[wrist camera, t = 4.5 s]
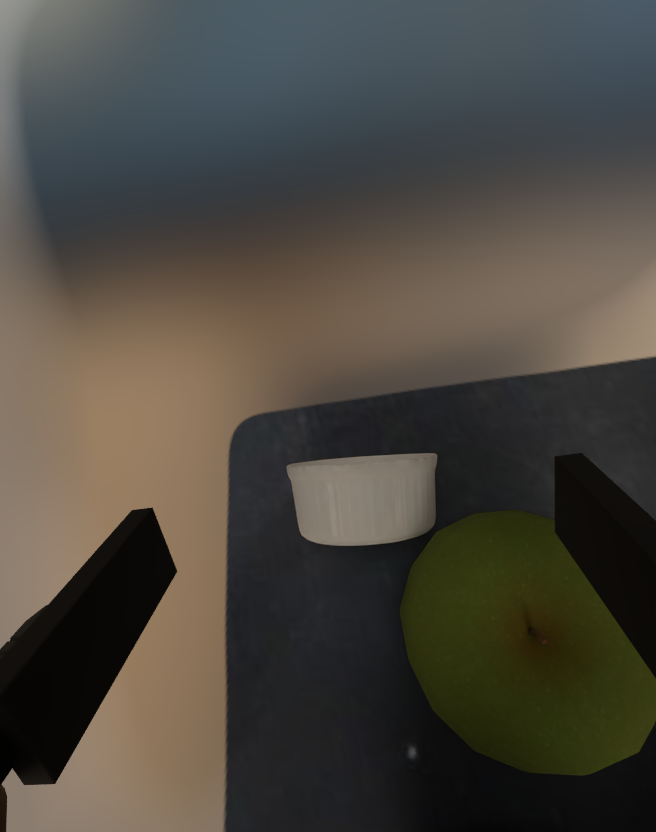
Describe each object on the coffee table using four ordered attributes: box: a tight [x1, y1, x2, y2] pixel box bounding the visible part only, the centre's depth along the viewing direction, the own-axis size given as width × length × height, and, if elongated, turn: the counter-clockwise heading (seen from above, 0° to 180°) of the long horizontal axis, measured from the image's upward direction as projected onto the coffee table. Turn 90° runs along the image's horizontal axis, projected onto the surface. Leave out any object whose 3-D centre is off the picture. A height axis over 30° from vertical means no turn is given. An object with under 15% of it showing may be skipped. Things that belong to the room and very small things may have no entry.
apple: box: [399, 509, 656, 776], centre depth 20 cm, size 11×10×10 cm
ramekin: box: [287, 453, 437, 546], centre depth 25 cm, size 9×9×4 cm
